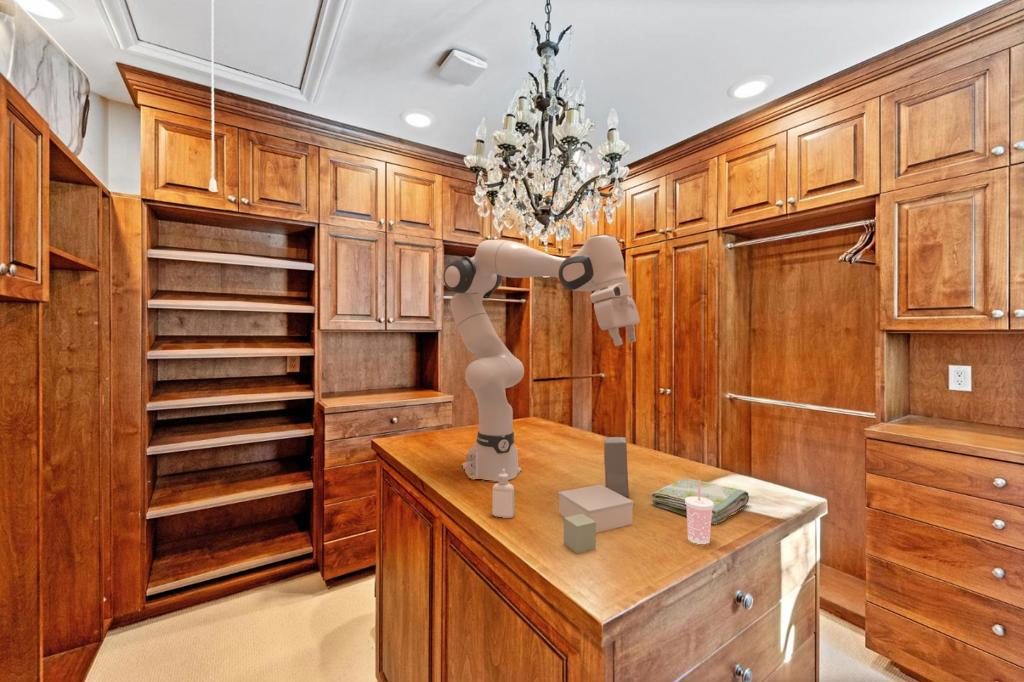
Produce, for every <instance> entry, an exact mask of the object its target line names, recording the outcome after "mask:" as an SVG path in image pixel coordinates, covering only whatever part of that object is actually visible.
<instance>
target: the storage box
mask: <svg viewBox="0 0 1024 682" xmlns="http://www.w3.org/2000/svg"><path fill="white" fill-rule="evenodd" d="M558 497H559V509H558V510H559V511H558V513H559V515H560V516H562V517H563V518H565V517H569V516H573V515H578V514H584V515H585V516H587V517H589V518H590V519H592V520H594V521H595V522H596V534H597V533H600V532H605V531H610V530H613V529H618V528H622V527H626V526H631V525H633V506H634V504H635V503H634V502H635V501H633V500H631V499H630V498H629V497H628V498H626V497H624V496H622V495H620V494H618V493H616V492H614V491H612V490H610V489H608V488H606V486H604V485H602V484H596V485H595V484H594V485H591V486H585V487H579V488H573V489H568V490H562V491H558Z"/></svg>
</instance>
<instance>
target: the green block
mask: <svg viewBox="0 0 1024 682" xmlns="http://www.w3.org/2000/svg"><path fill="white" fill-rule="evenodd" d="M596 536H597V533H596V522H595V521H594V520H592V519H590V518H589V517H587V516H585V515H584V514H578V515H573V516H569V517H563V545H564V546H566V547H567V548H569V549H570V550H571V551H572V552H574V553H575V554H581V553H586V552H590V551H591V550H596V546H597V545H596V542H597V537H596Z"/></svg>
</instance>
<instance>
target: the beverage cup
mask: <svg viewBox="0 0 1024 682" xmlns="http://www.w3.org/2000/svg"><path fill="white" fill-rule="evenodd" d="M700 491H701V479H700V478H699V479H698V497H687V498H685V504H686V508H687V516H686V523H687V524H686V525H687V526H686V527H687V540H688V541H689V540H690V541H691V542H690V541H689V542H690V543H692V542H693V544H694V543H697V544H696V545H698V544H706V543H709V544H710V540H711V539H710V538H711V528H712V525H711V519H712V509H713V508H714V507H713V506H714V503H713V502H712V501H711V500H709V499H707V498H703V497H700Z"/></svg>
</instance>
